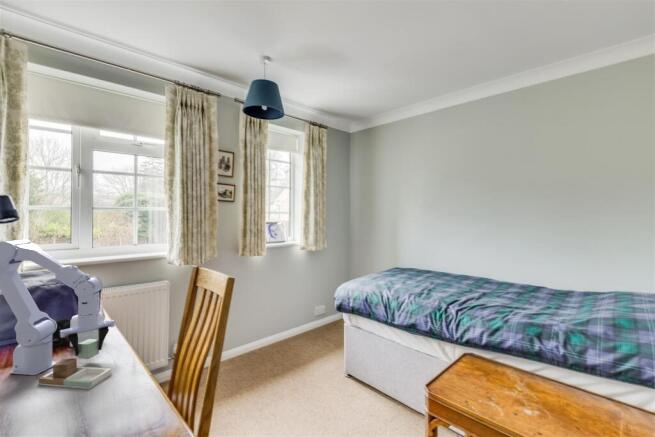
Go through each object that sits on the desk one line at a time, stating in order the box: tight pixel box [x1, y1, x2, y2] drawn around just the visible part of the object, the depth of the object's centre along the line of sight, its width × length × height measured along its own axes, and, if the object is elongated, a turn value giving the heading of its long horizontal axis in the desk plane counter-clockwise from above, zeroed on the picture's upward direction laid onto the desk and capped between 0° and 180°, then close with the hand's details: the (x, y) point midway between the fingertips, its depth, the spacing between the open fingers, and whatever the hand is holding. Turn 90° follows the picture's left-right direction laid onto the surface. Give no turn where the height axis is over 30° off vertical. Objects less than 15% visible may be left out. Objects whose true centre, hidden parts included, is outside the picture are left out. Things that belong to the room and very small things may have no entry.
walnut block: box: [52, 357, 78, 378], centre depth 92 cm, size 4×4×5 cm
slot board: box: [38, 365, 113, 390], centre depth 92 cm, size 17×8×2 cm, turn 83°
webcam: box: [52, 318, 71, 349], centre depth 117 cm, size 8×8×10 cm
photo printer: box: [69, 311, 104, 348], centre depth 118 cm, size 10×4×12 cm, turn 129°
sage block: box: [77, 339, 100, 360], centre depth 102 cm, size 4×4×5 cm
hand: (88, 351), depth 102 cm, fingers closed on sage block, 6 cm apart
